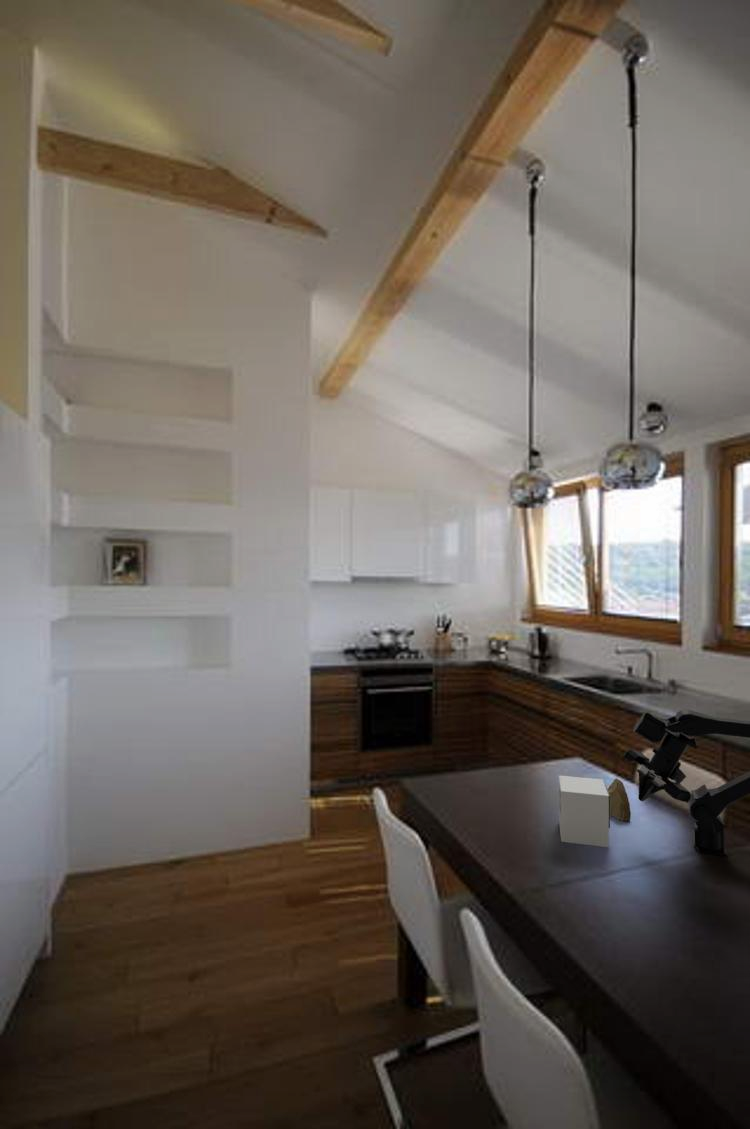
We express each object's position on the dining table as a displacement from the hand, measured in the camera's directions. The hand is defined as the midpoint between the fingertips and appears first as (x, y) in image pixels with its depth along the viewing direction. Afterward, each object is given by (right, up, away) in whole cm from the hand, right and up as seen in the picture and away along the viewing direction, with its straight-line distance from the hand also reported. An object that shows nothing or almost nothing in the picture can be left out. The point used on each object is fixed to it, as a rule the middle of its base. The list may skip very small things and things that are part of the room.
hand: (640, 800), depth 157 cm
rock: (-1, -11, +16) cm, 19 cm away
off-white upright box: (-15, -10, +2) cm, 18 cm away
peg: (-15, -4, +2) cm, 16 cm away
